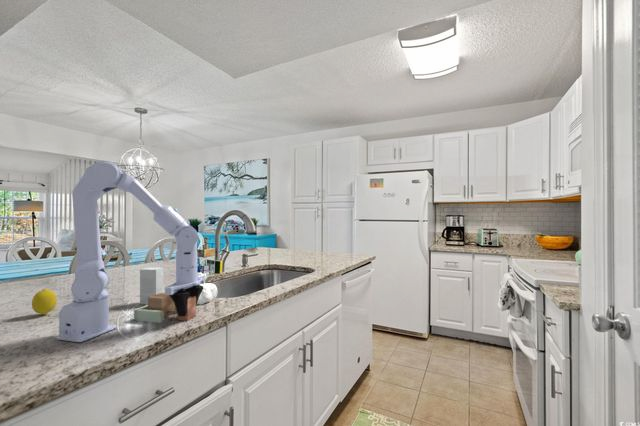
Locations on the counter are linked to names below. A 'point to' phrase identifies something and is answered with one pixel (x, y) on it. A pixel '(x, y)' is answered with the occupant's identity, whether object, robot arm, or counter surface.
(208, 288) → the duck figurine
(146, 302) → the skincare box
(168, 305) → the tethered block
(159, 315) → the green l-shaped block
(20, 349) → the counter surface
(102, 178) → the robot arm
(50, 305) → the lemon
